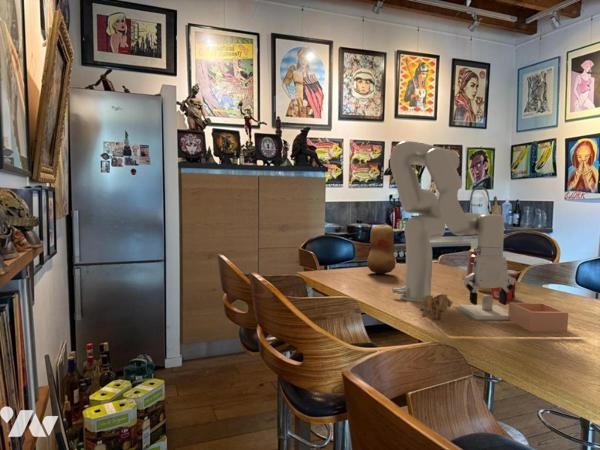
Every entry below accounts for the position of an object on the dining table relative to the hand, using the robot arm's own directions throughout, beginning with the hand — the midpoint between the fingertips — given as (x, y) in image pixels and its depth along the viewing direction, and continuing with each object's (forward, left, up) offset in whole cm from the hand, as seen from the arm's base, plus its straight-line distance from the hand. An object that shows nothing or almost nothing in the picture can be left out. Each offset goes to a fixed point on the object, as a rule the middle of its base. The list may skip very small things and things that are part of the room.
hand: (488, 304), depth 131 cm
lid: (0, 0, -3) cm, 3 cm away
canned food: (+17, +21, -4) cm, 27 cm away
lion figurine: (-19, -4, -4) cm, 20 cm away
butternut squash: (-18, +71, -4) cm, 74 cm away
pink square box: (+9, -12, -4) cm, 15 cm away
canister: (+27, +58, -4) cm, 64 cm away
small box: (+19, +36, -4) cm, 41 cm away
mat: (0, 0, -4) cm, 4 cm away
